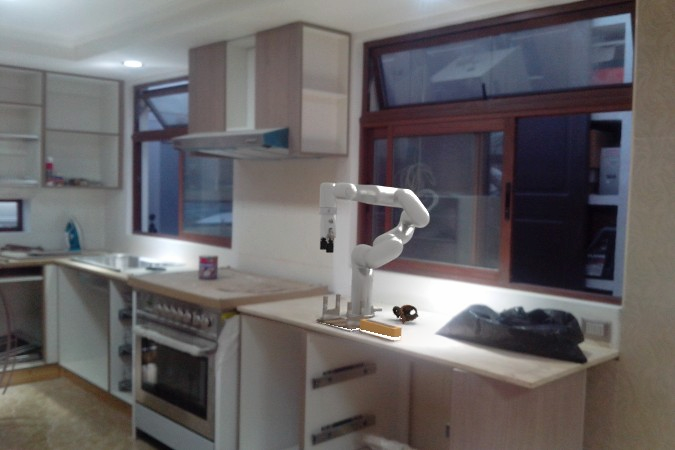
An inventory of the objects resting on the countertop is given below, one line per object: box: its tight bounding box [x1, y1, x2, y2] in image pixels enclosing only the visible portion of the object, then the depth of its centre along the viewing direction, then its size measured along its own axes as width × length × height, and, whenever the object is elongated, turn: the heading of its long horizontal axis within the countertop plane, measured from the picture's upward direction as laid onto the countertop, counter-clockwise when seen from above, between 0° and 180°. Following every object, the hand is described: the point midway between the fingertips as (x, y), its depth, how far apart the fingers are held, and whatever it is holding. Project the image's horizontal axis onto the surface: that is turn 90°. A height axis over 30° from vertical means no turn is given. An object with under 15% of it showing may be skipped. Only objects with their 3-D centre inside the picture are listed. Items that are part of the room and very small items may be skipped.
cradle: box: [316, 293, 365, 330], centre depth 264 cm, size 20×11×11 cm, turn 45°
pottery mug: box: [391, 304, 419, 323], centre depth 277 cm, size 12×10×8 cm
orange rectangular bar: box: [360, 318, 402, 337], centre depth 250 cm, size 18×4×5 cm, turn 45°
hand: (326, 251), depth 275 cm, fingers open, 9 cm apart
